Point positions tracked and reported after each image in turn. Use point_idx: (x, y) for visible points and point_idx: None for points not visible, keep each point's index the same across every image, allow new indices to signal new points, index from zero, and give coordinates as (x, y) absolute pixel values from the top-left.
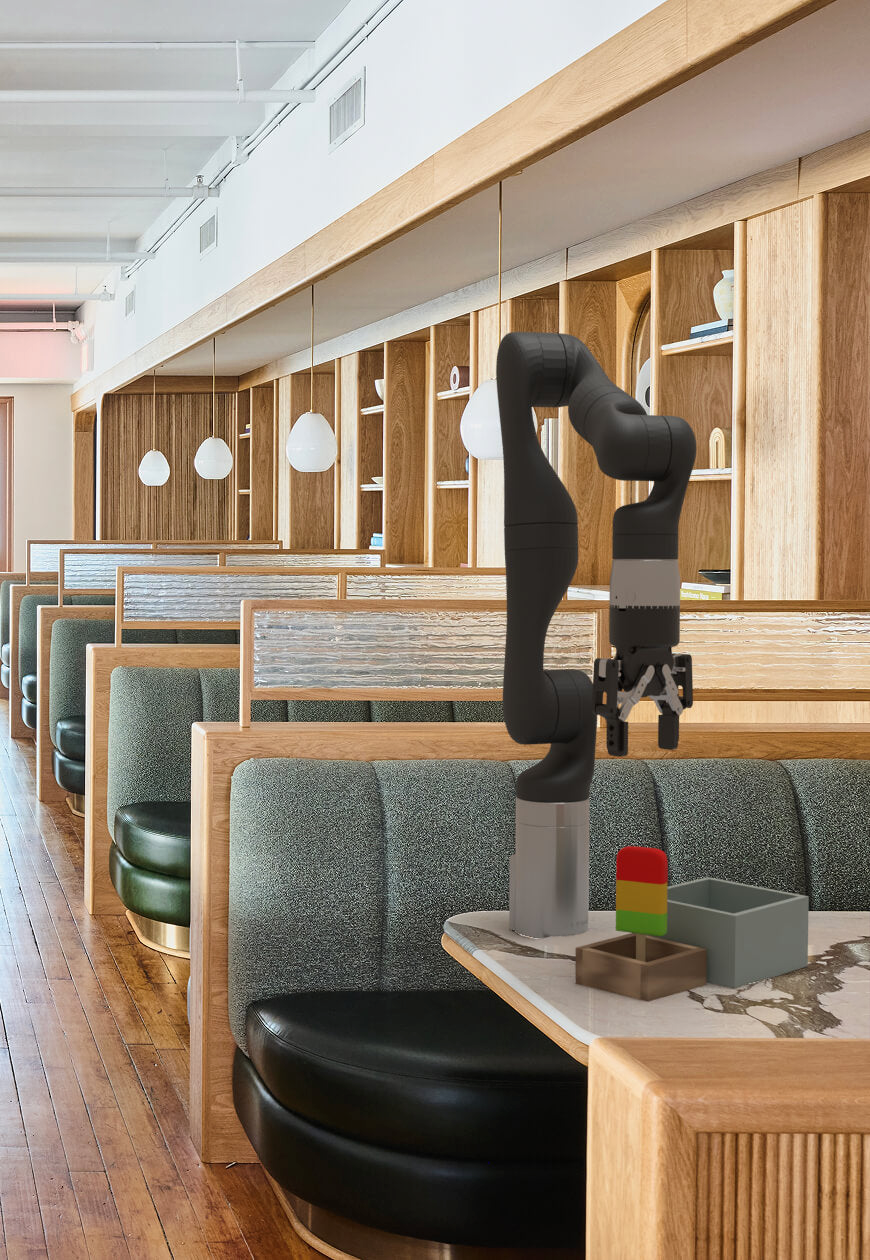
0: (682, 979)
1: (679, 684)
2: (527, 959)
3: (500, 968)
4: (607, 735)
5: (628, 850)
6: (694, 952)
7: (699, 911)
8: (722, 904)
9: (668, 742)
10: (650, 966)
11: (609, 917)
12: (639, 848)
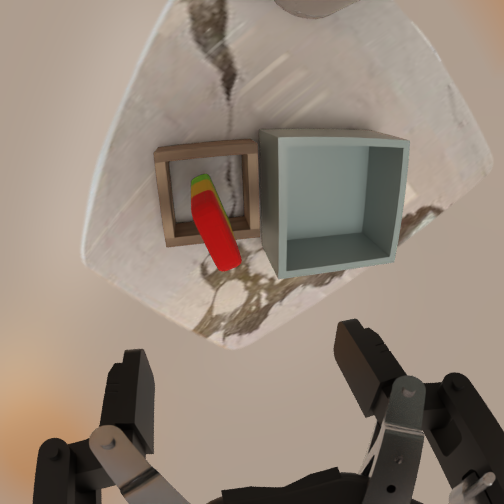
0: None
1: (450, 457)
2: (185, 49)
3: (138, 60)
4: (105, 398)
5: (199, 231)
6: (240, 238)
7: (277, 234)
8: (387, 160)
9: (342, 353)
10: (169, 246)
11: (377, 9)
12: (211, 244)
